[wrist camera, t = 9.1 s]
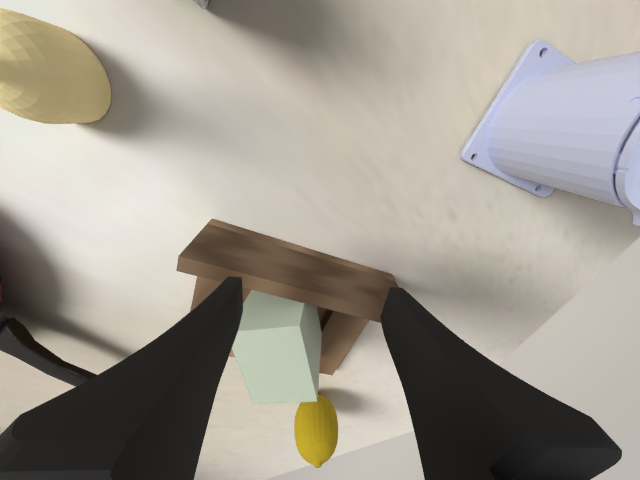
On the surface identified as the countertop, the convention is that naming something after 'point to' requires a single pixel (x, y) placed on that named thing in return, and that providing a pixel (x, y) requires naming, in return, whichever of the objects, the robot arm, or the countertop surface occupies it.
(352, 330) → the brown wooden stand
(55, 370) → the frying pan
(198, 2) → the medicine box
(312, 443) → the lemon
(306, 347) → the pale green block
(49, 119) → the yellow stemmed oval
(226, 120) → the countertop surface
